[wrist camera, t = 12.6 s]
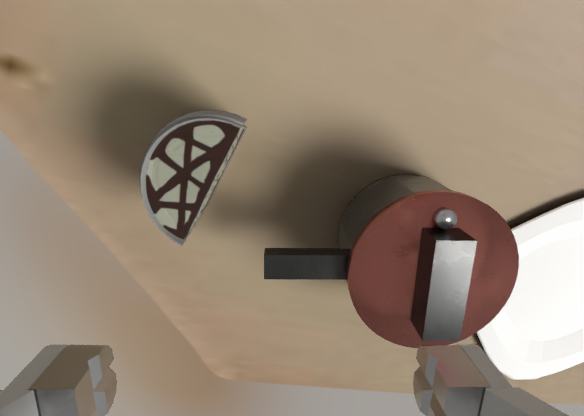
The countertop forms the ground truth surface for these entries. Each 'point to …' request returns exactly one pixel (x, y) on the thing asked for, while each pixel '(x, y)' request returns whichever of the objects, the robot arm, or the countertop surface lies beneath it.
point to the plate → (543, 298)
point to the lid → (432, 268)
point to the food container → (187, 168)
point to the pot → (343, 232)
